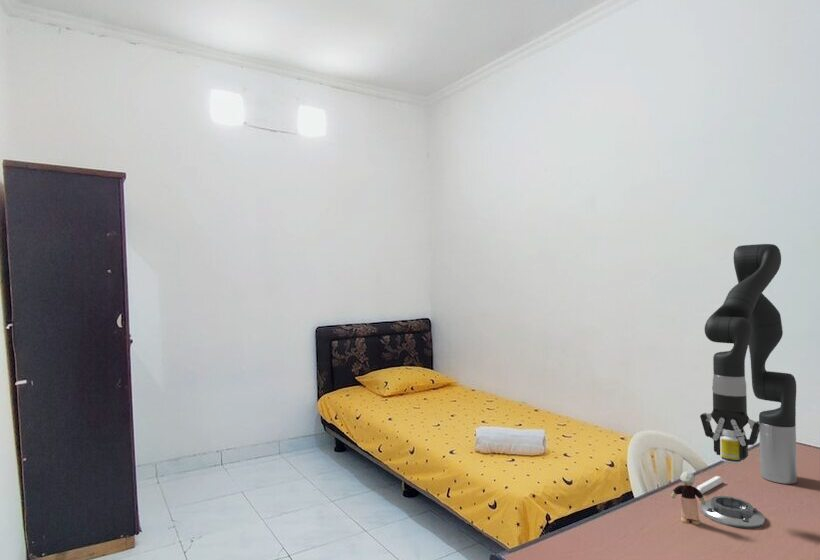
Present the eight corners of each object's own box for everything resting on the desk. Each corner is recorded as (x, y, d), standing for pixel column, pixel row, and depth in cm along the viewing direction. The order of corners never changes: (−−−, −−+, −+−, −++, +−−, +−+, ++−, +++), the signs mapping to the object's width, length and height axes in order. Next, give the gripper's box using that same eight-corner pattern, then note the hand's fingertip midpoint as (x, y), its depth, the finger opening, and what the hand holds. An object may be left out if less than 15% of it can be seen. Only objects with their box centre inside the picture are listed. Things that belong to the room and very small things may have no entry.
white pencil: (694, 499, 143) (717, 484, 152) (701, 497, 141) (724, 483, 151) (689, 489, 144) (712, 476, 153) (696, 488, 142) (719, 474, 152)
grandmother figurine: (703, 519, 128) (702, 470, 128) (707, 526, 124) (706, 476, 124) (670, 515, 130) (669, 467, 130) (673, 522, 126) (672, 472, 127)
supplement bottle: (744, 464, 127) (744, 432, 127) (724, 463, 128) (724, 431, 128) (736, 458, 132) (736, 427, 132) (717, 457, 133) (716, 426, 133)
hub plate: (710, 499, 140) (710, 488, 140) (770, 515, 129) (770, 503, 129) (693, 515, 130) (693, 503, 130) (757, 534, 120) (756, 521, 120)
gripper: (765, 394, 128) (766, 460, 127) (703, 386, 138) (704, 447, 138) (758, 398, 123) (759, 467, 122) (694, 390, 133) (695, 453, 133)
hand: (730, 456), depth 130 cm, fingers closed on supplement bottle, 4 cm apart
